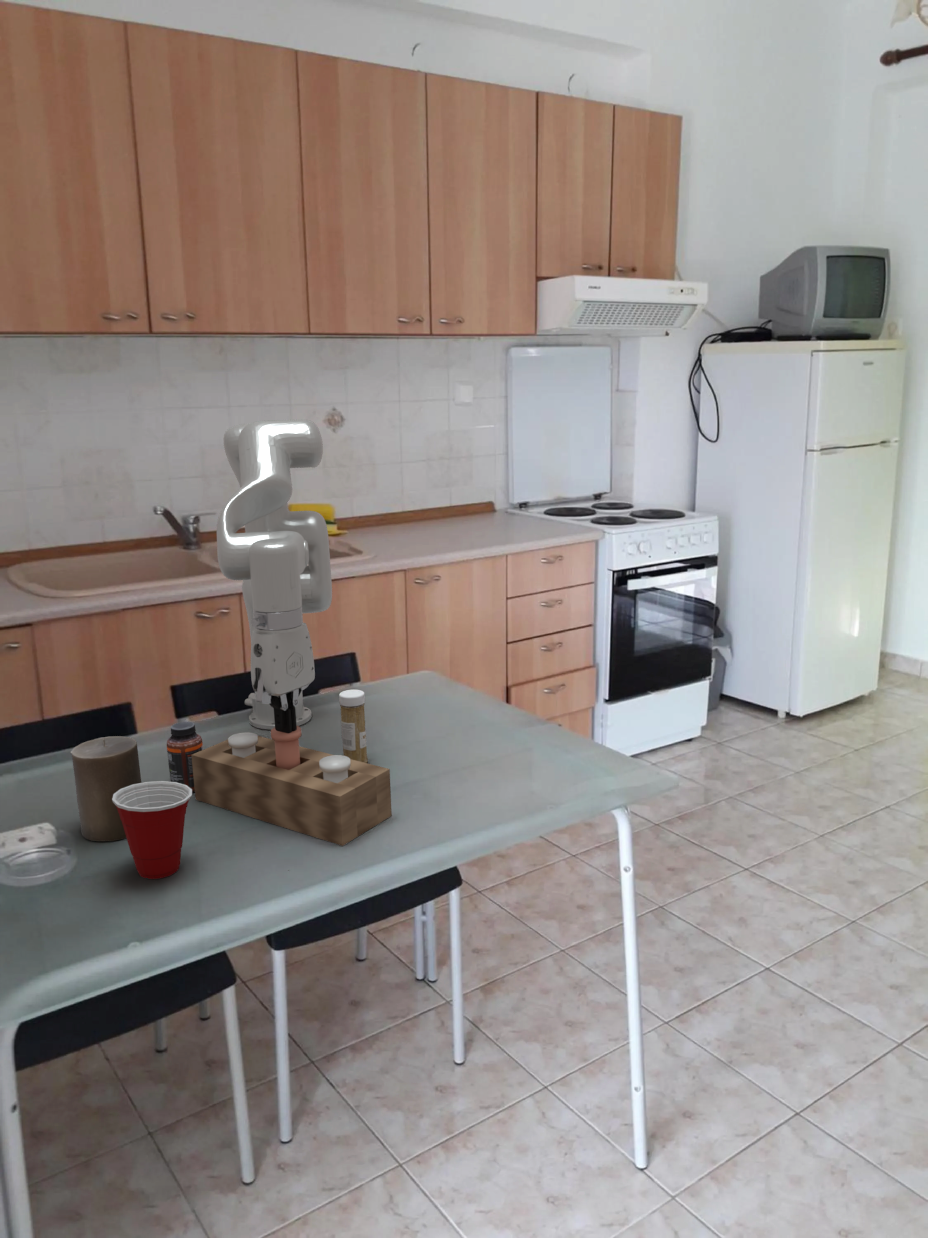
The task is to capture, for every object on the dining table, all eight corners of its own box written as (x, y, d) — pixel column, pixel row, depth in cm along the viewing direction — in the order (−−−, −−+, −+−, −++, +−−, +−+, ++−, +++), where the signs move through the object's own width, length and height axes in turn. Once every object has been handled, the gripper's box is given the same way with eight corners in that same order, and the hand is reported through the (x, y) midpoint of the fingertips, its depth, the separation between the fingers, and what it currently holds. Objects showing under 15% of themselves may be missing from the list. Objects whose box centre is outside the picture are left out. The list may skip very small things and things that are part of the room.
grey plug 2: (316, 822, 154) (312, 763, 151) (336, 811, 158) (333, 753, 155) (339, 829, 151) (336, 769, 149) (359, 817, 155) (356, 758, 153)
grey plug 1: (226, 795, 165) (221, 739, 162) (247, 785, 168) (243, 730, 166) (247, 801, 162) (242, 744, 160) (267, 791, 166) (263, 735, 163)
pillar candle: (152, 832, 152) (142, 741, 149) (86, 848, 147) (74, 754, 144) (139, 810, 160) (129, 723, 157) (76, 824, 156) (65, 735, 152)
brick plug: (268, 790, 158) (264, 732, 156) (289, 780, 162) (285, 723, 160) (290, 796, 156) (286, 737, 153) (311, 786, 160) (307, 728, 157)
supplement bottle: (213, 782, 171) (207, 720, 168) (195, 795, 165) (189, 732, 162) (182, 778, 172) (177, 718, 170) (164, 792, 167) (157, 730, 164)
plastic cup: (214, 866, 141) (207, 789, 138) (147, 896, 133) (138, 815, 130) (172, 844, 148) (165, 770, 145) (106, 871, 140) (97, 794, 138)
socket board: (195, 799, 164) (191, 754, 162) (247, 775, 173) (244, 732, 171) (342, 846, 146) (340, 796, 145) (391, 815, 156) (389, 769, 154)
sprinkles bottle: (372, 764, 177) (369, 693, 174) (349, 770, 175) (346, 698, 171) (360, 756, 181) (357, 686, 177) (338, 762, 178) (334, 691, 175)
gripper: (261, 632, 144) (269, 749, 148) (328, 611, 156) (334, 720, 160) (225, 626, 148) (234, 741, 152) (293, 606, 160) (300, 713, 165)
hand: (286, 730), depth 156 cm, fingers closed
